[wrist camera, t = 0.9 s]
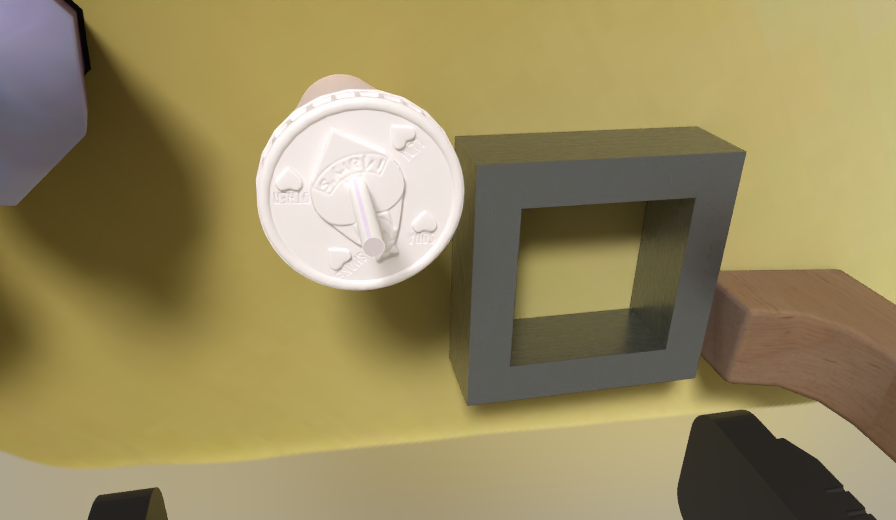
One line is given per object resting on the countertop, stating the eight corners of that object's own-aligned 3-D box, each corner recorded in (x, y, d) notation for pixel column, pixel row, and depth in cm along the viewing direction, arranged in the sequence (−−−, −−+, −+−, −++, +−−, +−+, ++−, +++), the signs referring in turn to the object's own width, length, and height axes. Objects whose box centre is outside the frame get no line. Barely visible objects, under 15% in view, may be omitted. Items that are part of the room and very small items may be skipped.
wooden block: (681, 338, 39) (952, 628, 23) (701, 268, 37) (1013, 532, 21) (814, 333, 41) (1148, 595, 25) (840, 266, 39) (1220, 506, 23)
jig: (697, 126, 33) (746, 151, 29) (657, 335, 38) (695, 378, 35) (455, 136, 30) (476, 165, 27) (449, 358, 36) (467, 406, 32)
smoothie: (384, 16, 27) (462, 97, 15) (435, 157, 31) (534, 317, 18) (236, 74, 27) (196, 203, 15) (302, 209, 30) (314, 407, 18)
